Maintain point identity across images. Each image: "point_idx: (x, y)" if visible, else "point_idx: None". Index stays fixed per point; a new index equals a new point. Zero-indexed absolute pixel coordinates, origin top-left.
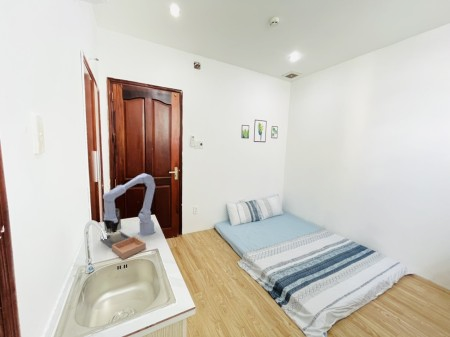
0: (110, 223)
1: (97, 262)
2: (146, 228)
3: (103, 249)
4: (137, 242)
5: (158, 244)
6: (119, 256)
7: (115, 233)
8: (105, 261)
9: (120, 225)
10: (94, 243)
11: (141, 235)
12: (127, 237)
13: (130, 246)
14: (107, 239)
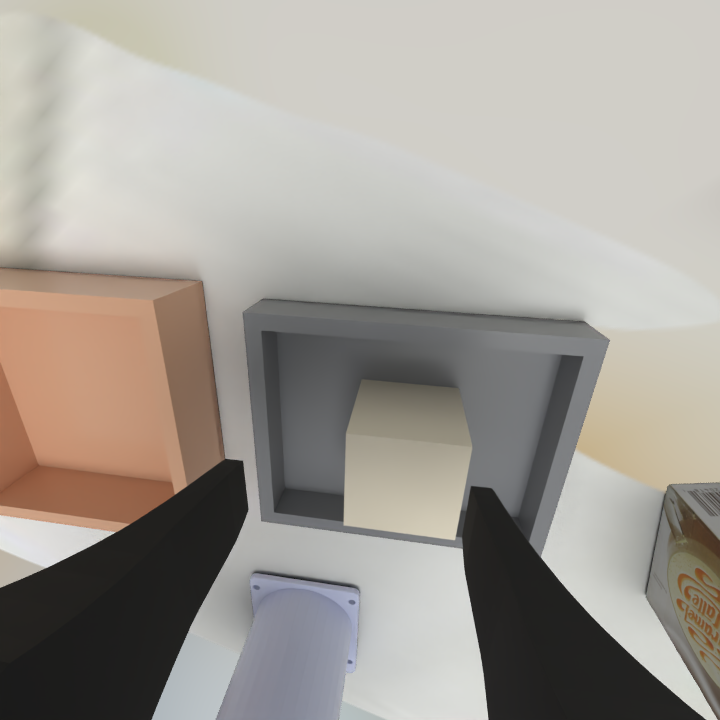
0: None
1: (57, 43)
2: (231, 678)
3: (325, 240)
4: (130, 492)
5: (50, 545)
6: (29, 270)
7: (396, 488)
8: (26, 125)
9: (675, 640)
10: (611, 241)
11: (281, 582)
12: (312, 508)
13: (148, 427)
14: (525, 387)
